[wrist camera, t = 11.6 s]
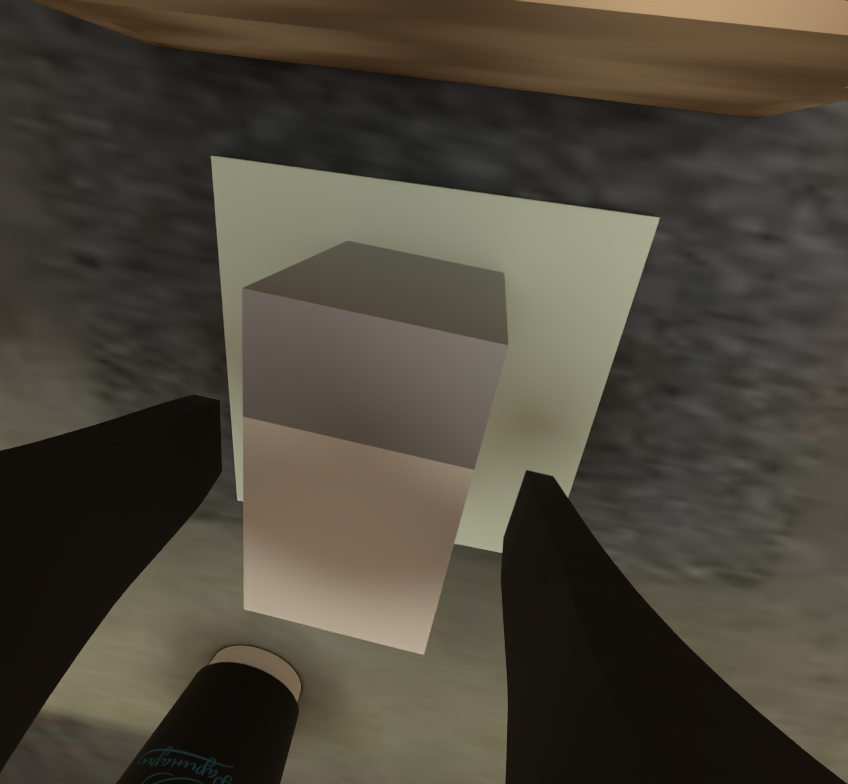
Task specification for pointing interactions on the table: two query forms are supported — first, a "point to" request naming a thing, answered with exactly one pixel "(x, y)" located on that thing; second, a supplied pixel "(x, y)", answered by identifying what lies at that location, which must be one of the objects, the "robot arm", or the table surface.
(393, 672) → the table surface
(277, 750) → the dixie cup
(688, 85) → the wooden crate
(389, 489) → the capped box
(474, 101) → the table surface
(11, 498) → the robot arm
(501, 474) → the panel
